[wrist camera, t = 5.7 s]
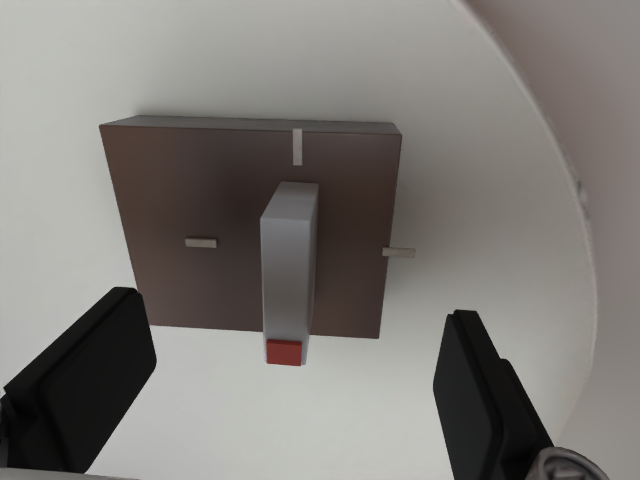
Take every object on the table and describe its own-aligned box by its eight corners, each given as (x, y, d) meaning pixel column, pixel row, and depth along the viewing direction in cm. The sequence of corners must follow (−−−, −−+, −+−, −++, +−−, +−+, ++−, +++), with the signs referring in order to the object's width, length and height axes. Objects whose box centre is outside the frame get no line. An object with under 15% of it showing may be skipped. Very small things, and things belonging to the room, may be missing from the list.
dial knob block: (418, 121, 16) (433, 133, 14) (394, 306, 21) (401, 344, 18) (136, 113, 17) (94, 122, 14) (170, 294, 22) (144, 329, 19)
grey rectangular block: (280, 180, 15) (257, 220, 11) (319, 183, 15) (310, 224, 11) (280, 301, 18) (262, 367, 14) (314, 304, 17) (304, 370, 14)
